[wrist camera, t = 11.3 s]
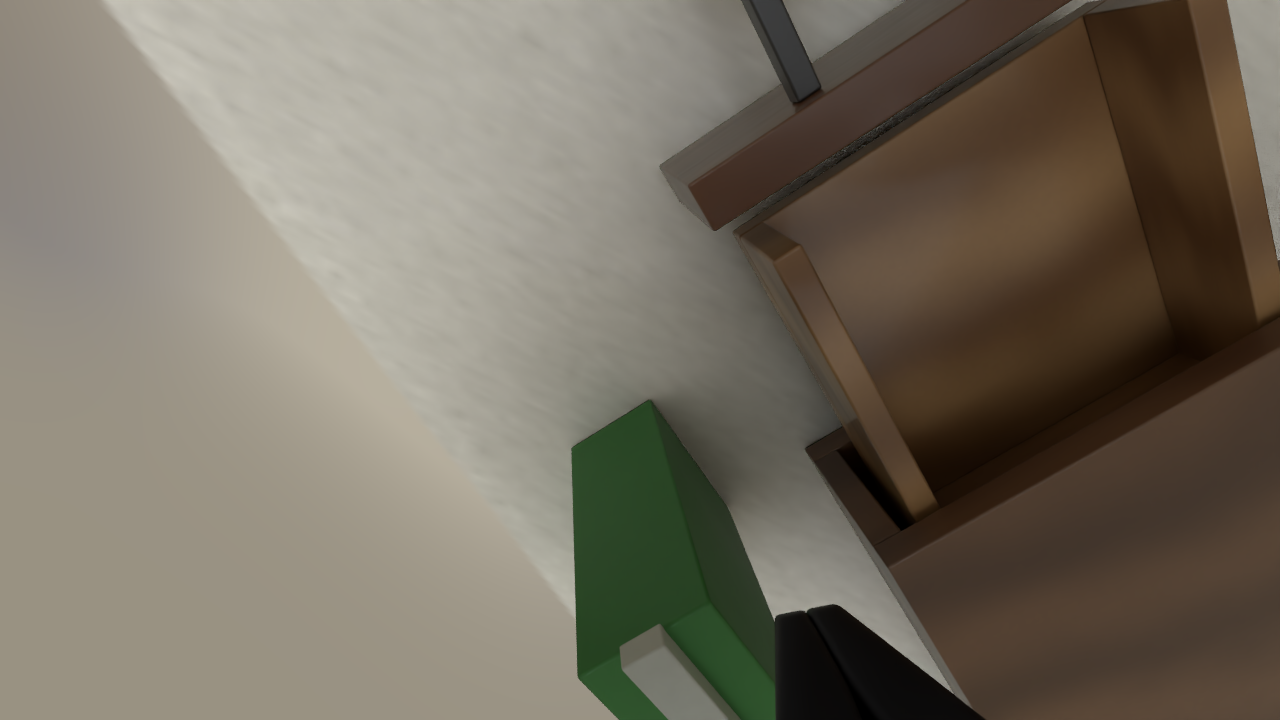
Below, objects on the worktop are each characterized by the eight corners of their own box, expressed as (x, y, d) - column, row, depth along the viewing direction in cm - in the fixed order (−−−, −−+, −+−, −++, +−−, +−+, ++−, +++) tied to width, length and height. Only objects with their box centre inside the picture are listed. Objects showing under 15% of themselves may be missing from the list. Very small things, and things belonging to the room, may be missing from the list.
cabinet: (804, 449, 23) (887, 568, 17) (1166, 233, 21) (1394, 284, 15) (957, 699, 29) (1058, 851, 23) (1250, 545, 27) (1438, 667, 21)
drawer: (567, 13, 16) (569, -16, 12) (1025, -314, 15) (1202, -472, 11) (869, 520, 23) (934, 610, 19) (1196, 333, 22) (1343, 386, 18)
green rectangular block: (568, 445, 22) (573, 697, 13) (648, 395, 21) (713, 617, 12) (656, 555, 24) (715, 837, 15) (730, 511, 23) (838, 774, 14)
